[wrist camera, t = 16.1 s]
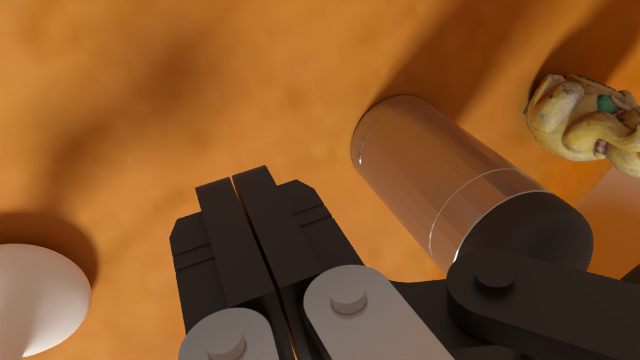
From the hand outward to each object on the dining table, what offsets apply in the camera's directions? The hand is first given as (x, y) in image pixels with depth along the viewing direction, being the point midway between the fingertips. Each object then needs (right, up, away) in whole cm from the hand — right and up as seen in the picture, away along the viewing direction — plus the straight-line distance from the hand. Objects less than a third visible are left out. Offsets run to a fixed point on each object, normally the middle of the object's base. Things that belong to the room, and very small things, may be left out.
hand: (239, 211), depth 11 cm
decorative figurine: (+26, +9, +43) cm, 51 cm away
